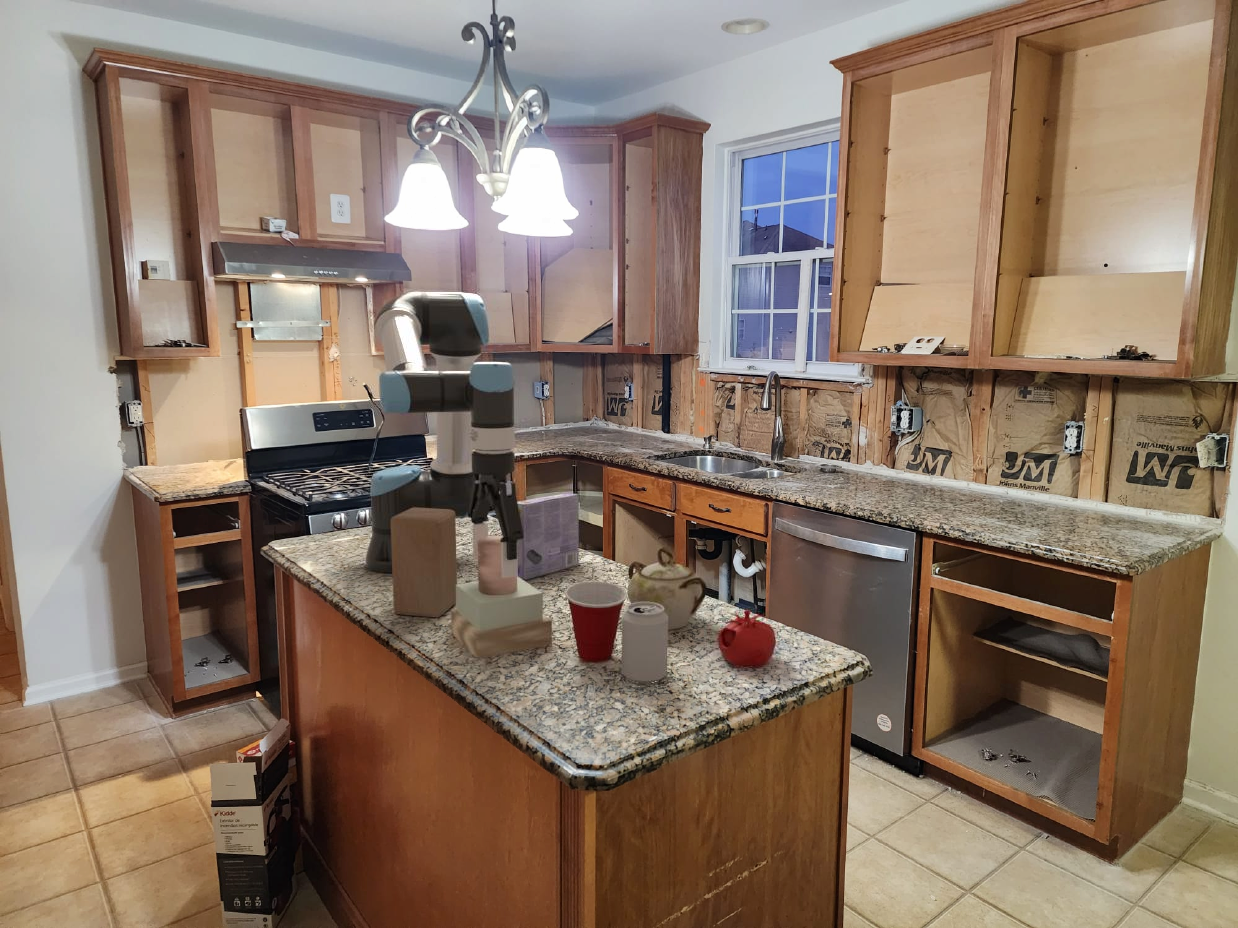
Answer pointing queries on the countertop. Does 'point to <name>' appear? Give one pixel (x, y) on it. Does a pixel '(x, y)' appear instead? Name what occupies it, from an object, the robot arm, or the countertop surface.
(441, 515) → the block
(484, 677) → the countertop surface
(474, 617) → the tower top
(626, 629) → the can
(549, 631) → the tower base
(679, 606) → the sugar bowl
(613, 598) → the plastic cup
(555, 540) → the cake pan box
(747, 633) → the pomegranate
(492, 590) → the pink rounded cylinder
